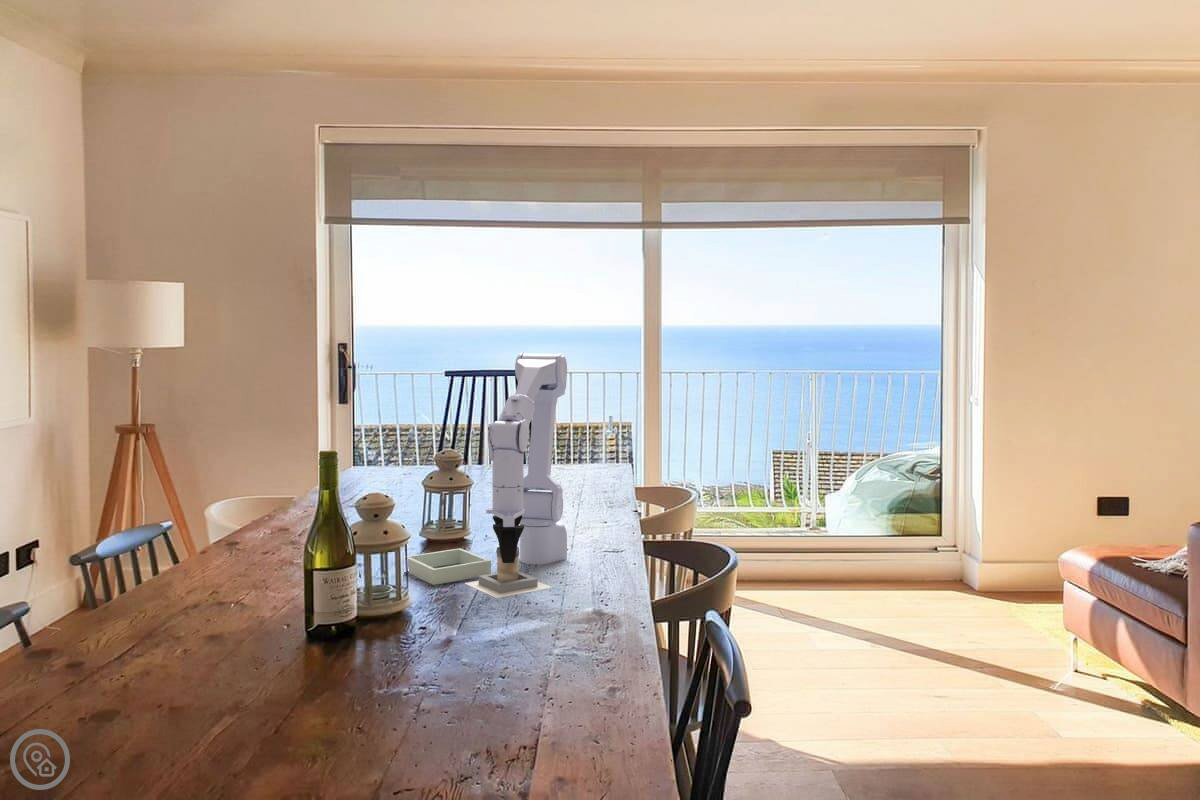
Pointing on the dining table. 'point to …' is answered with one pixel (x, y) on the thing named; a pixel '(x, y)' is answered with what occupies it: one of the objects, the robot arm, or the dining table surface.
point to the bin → (467, 569)
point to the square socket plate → (507, 585)
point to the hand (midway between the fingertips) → (507, 557)
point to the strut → (507, 568)
